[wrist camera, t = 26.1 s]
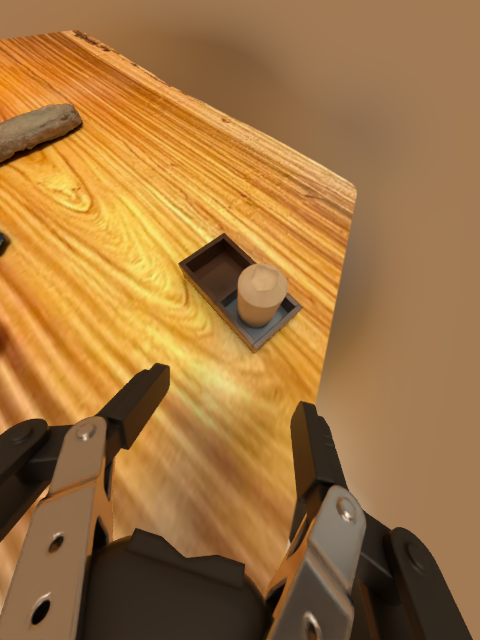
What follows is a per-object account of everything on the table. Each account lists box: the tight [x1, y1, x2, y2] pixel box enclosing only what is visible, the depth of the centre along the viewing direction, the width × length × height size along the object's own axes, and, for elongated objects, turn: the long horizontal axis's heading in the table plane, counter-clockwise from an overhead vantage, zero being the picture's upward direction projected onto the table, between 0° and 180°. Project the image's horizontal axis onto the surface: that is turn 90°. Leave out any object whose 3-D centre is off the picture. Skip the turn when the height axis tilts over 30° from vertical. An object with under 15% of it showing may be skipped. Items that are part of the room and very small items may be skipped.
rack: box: [178, 233, 303, 353], centre depth 27 cm, size 17×9×4 cm, turn 41°
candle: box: [238, 263, 288, 329], centre depth 23 cm, size 6×6×10 cm
